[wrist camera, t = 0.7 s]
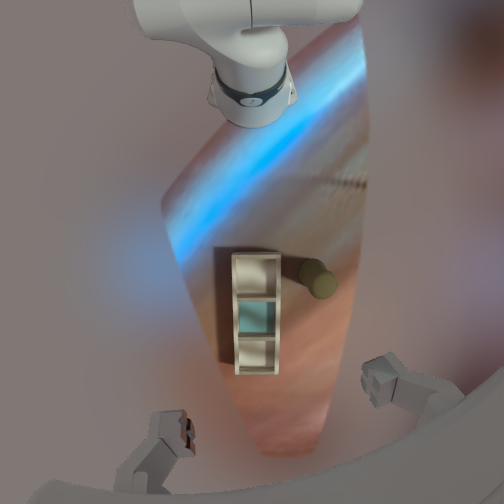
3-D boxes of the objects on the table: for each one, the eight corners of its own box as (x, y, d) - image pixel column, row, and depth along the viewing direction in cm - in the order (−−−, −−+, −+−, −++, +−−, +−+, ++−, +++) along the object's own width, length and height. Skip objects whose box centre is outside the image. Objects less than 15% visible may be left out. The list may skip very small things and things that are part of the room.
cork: (298, 288, 56) (307, 305, 45) (297, 259, 56) (306, 270, 45) (326, 286, 56) (341, 302, 45) (326, 257, 55) (341, 267, 44)
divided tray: (233, 252, 56) (231, 254, 52) (279, 251, 55) (281, 254, 51) (236, 365, 59) (235, 374, 55) (277, 365, 59) (278, 374, 55)
